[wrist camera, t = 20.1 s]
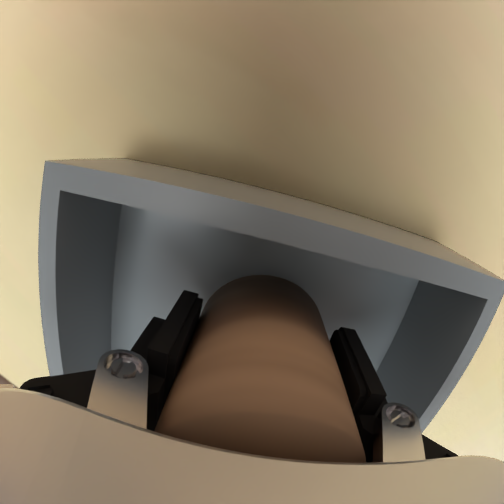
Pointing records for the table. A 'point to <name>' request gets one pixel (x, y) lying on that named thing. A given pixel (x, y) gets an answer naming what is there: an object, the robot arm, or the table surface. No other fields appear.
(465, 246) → the table surface
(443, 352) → the tote
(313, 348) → the walnut cylinder
